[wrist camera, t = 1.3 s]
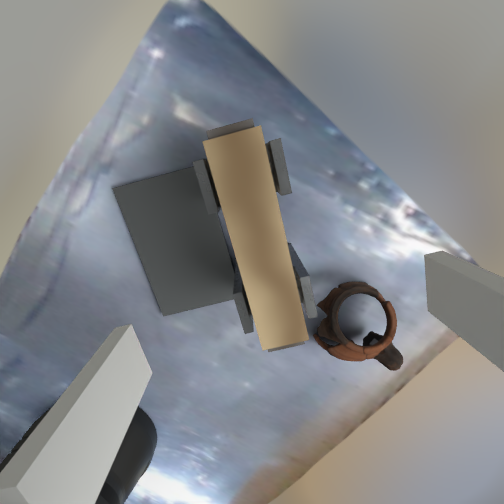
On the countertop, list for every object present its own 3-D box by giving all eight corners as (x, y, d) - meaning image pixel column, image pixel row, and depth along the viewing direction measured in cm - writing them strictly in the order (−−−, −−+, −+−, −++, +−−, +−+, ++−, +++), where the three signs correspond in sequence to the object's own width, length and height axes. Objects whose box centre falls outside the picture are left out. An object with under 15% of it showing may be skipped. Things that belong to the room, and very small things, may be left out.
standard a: (244, 286, 34) (244, 333, 25) (236, 256, 33) (232, 294, 24) (297, 273, 34) (317, 316, 25) (290, 243, 33) (309, 275, 23)
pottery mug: (290, 328, 37) (307, 331, 29) (327, 271, 39) (352, 259, 31) (366, 384, 36) (405, 403, 28) (399, 323, 38) (445, 324, 30)
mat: (164, 313, 35) (163, 316, 35) (114, 187, 31) (112, 188, 30) (241, 295, 35) (241, 297, 34) (202, 164, 30) (202, 164, 29)
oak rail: (261, 326, 28) (264, 356, 24) (208, 138, 23) (199, 131, 18) (300, 317, 28) (310, 345, 24) (256, 124, 23) (258, 115, 18)
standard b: (219, 199, 31) (208, 214, 22) (209, 162, 30) (192, 162, 20) (277, 183, 31) (292, 192, 21) (269, 146, 30) (280, 137, 20)
